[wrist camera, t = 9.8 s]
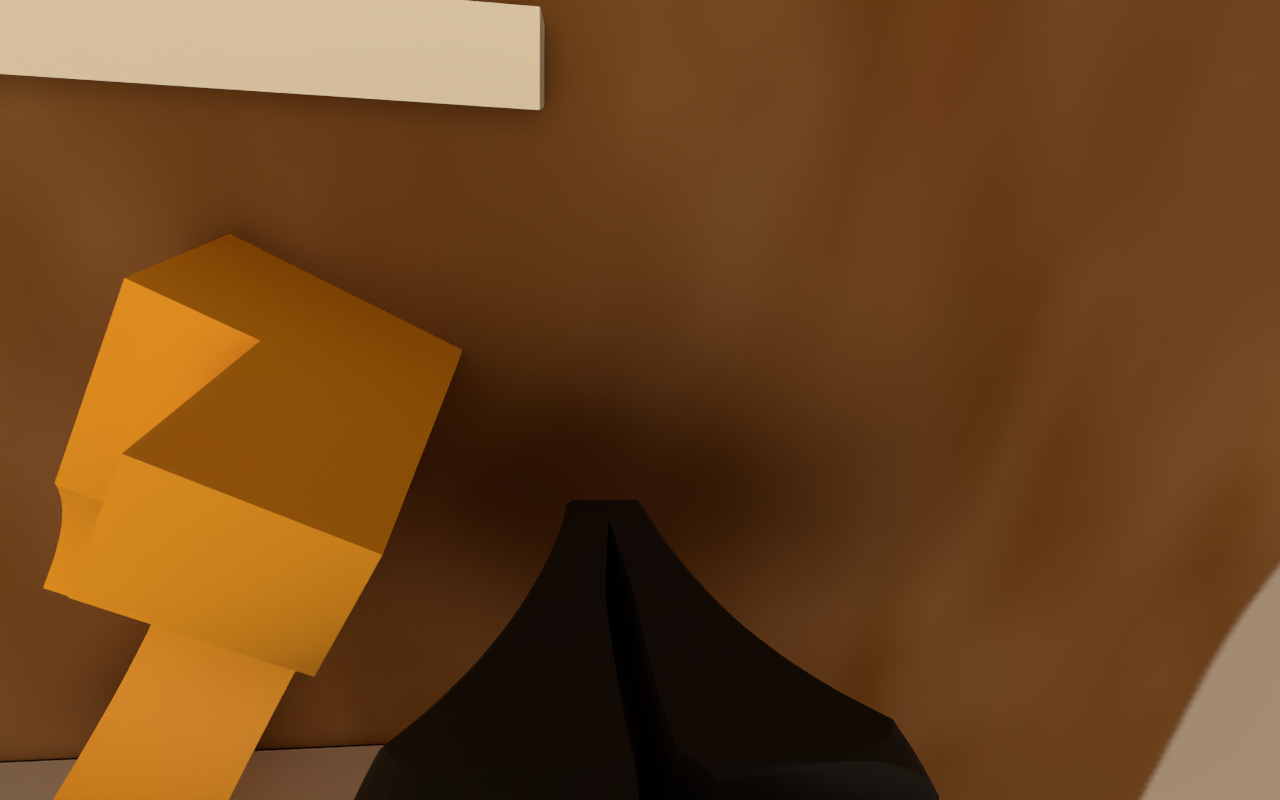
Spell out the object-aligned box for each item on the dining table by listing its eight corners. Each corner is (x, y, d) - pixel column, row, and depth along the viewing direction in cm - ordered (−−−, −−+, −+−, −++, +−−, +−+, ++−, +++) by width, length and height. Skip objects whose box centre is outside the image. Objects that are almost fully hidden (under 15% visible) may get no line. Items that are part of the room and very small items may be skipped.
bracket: (540, 769, 18) (537, 867, 16) (-104, 802, 16) (-214, 919, 14) (544, 24, 11) (540, 6, 8) (-618, -71, 9) (-1024, -128, 7)
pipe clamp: (233, 232, 12) (-95, 370, 6) (464, 347, 13) (383, 555, 7) (55, 689, 15) (-256, 1055, 10) (249, 744, 17) (79, 1096, 11)
